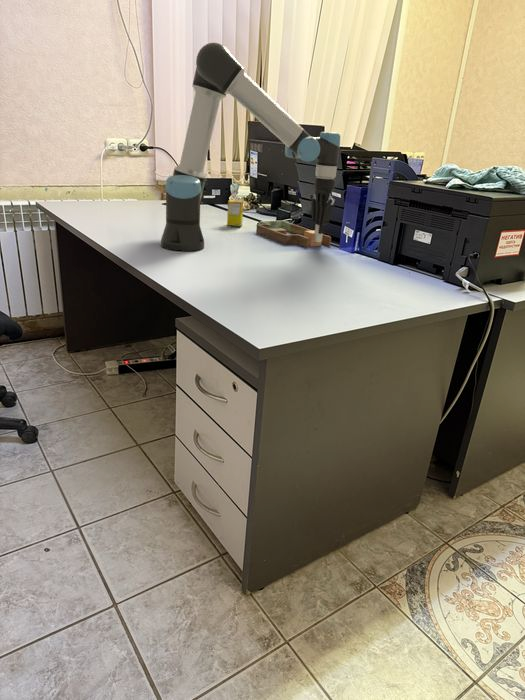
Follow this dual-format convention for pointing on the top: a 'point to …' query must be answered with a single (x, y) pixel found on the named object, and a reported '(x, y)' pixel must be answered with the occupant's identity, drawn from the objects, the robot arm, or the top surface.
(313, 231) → the terracotta block
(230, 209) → the supplement box
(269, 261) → the top surface
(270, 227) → the trap lane
